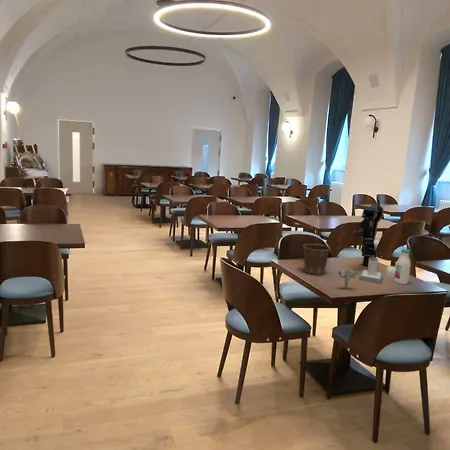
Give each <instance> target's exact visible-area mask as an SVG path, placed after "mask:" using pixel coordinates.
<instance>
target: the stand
mask: <svg viewBox="0 0 450 450" xmlns="http://www.w3.org/2000/svg"><path fill="white" fill-rule="evenodd" d="M367 271H368V269H362V270H361V271H360V274H359V279H358V280H359V281H363V282H368V283H373V284H374V283H375V284H380V285H381V283H382V279H383V274H384V273H383V272H378V271H377V272H376V276H372V275H368V273H367Z"/></svg>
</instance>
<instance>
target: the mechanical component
mask: <svg viewBox="0 0 450 450" xmlns="http://www.w3.org/2000/svg"><path fill="white" fill-rule="evenodd" d="M337 274H338V275H339V276H338V277H340V278H341V279H344V289H345V290H348V288H349V287H348V286H349V282H350V280H351V279H353V280H354V279H356V277H357V275H358V271H356V270H345V271H344V272H343V271H342V270H338V273H337Z"/></svg>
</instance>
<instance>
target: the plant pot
mask: <svg viewBox="0 0 450 450" xmlns="http://www.w3.org/2000/svg"><path fill="white" fill-rule="evenodd" d="M302 247H303V254H304V255H303V256H304V257H303V258H304V262H303V266H304V267H303V268H304V269H303V271H304V272H305V273H306V274H308V275H311V274H312V275H315V276H321V275H324V274H325V271H326V270H325V269H326V267H327V260H328V257H329V254H330V250H331V247H329V246H328V245H324V244H320V245H318V243H307V244H303V245H302Z"/></svg>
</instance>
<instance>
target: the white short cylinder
mask: <svg viewBox="0 0 450 450" xmlns="http://www.w3.org/2000/svg"><path fill="white" fill-rule="evenodd" d="M395 271H396V266H394V265H393V266H392V265H387V267H386V274H385V277H387V278H389V279H394V278H395Z"/></svg>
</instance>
